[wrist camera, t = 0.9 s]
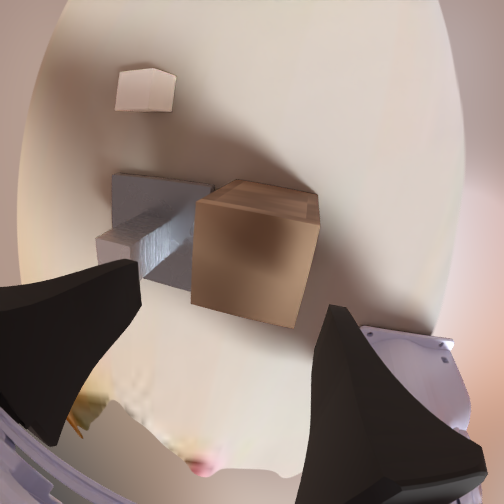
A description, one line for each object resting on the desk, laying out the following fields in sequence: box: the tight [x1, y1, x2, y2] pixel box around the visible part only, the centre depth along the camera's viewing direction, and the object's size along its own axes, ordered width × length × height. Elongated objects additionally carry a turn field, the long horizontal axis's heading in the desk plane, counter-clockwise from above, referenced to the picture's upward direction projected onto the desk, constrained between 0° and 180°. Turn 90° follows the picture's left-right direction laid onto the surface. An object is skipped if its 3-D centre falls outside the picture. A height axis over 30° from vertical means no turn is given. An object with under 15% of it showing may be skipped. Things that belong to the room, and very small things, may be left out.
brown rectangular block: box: [191, 179, 320, 329], centre depth 15 cm, size 5×5×7 cm
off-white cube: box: [115, 68, 177, 112], centre depth 15 cm, size 3×3×3 cm
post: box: [96, 173, 215, 291], centre depth 17 cm, size 8×8×6 cm
